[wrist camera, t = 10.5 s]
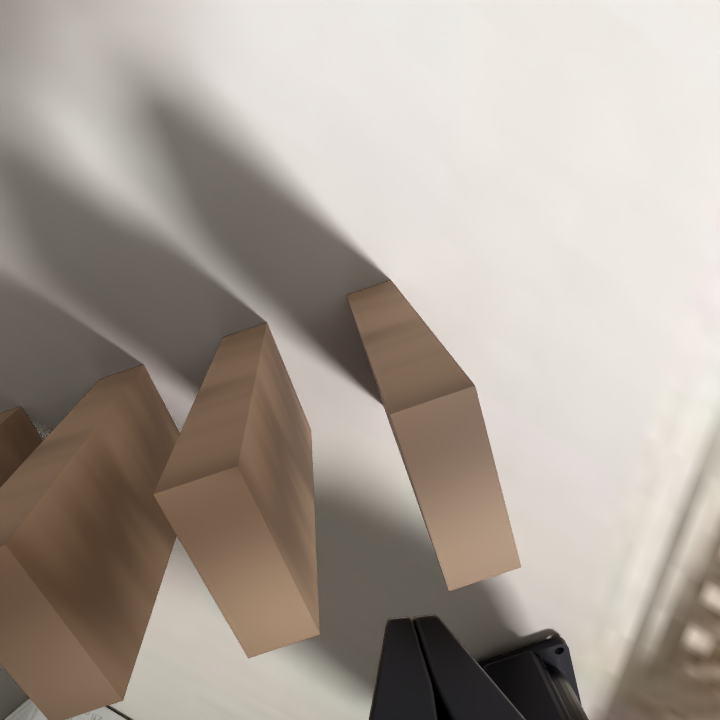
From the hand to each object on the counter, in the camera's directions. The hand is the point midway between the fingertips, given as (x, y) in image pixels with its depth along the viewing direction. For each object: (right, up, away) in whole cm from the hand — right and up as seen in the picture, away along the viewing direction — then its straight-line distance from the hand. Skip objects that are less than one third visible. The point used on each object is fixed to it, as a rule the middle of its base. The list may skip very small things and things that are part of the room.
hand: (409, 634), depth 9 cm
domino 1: (-9, +2, +12) cm, 15 cm away
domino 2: (-4, +3, +12) cm, 13 cm away
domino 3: (0, +5, +12) cm, 13 cm away
